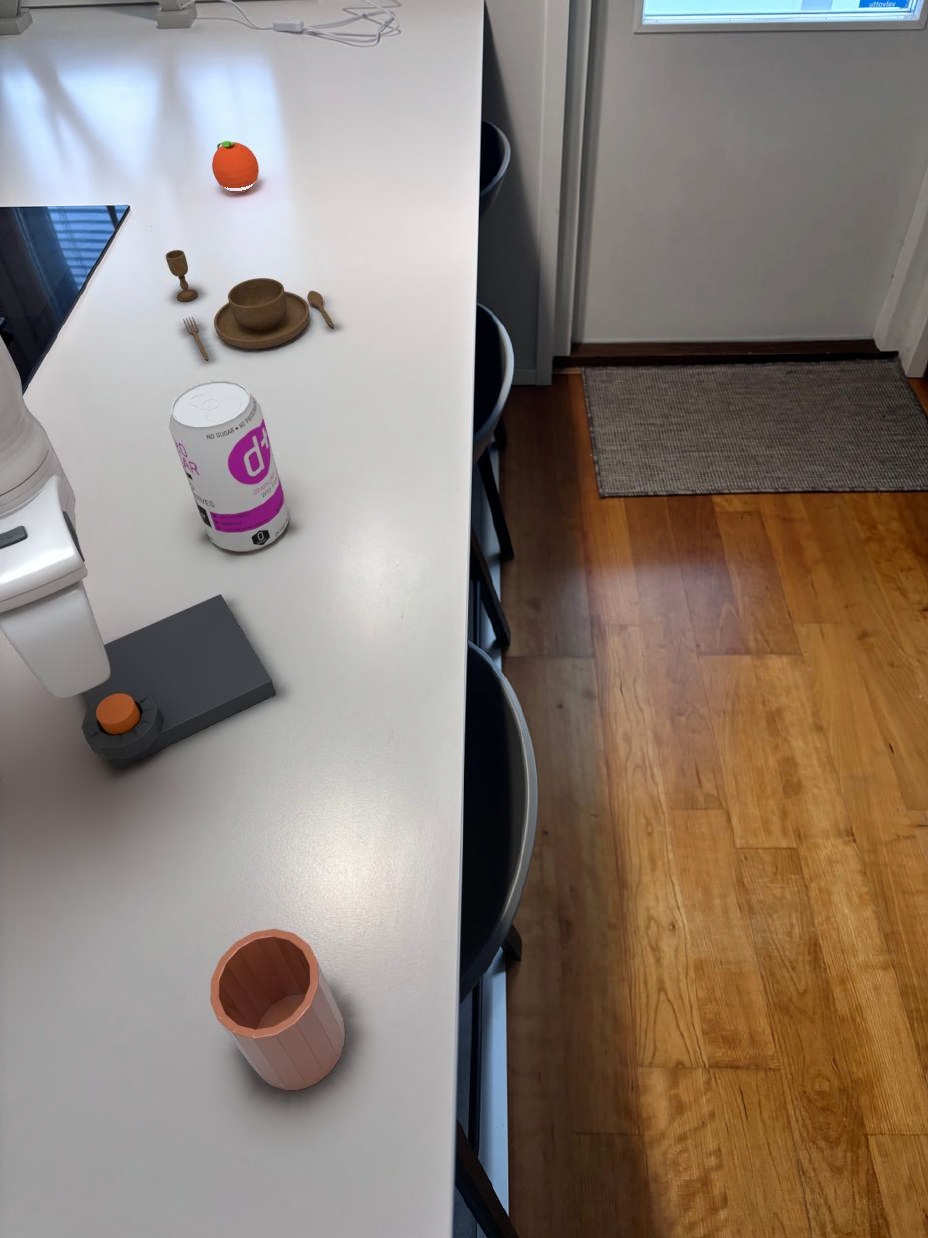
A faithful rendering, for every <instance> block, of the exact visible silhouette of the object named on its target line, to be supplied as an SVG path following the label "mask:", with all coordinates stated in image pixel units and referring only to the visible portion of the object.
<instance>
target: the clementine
mask: <svg viewBox="0 0 928 1238" xmlns="http://www.w3.org/2000/svg"><path fill="white" fill-rule="evenodd" d="M216 145H217V146H216V151H215V152H214V154H213V157H212V162H211V168H212V173H213V175H214V178H215V181H216V182H217V183H218V184H219V185H220V186H221V187H222V186H223V187H226V188H227V187H228V188H241V187H246V186H249V185H251V184H253V183H254V182H255V181H256V182H257V180H258V178H259V172H260V168H259V167H260V166H259V162H258V160H257V157H256V156H255V153H254V152H253V151H252V150H251V149H250V148H249V147H248V146H247V145H245V144H242V143H240V142H236V141H229V140H226V141H225V140H224V141H222V142H220V143H218V144H216ZM256 182H255V183H256ZM223 187H222V188H223ZM250 189H252V187H250V188H249V189H246V190H242V191H229V190H227V191H228V192H231V193H235V194H236V193H243V192H247V191H249V190H250Z"/></svg>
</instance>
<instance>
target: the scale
mask: <svg viewBox="0 0 928 1238" xmlns="http://www.w3.org/2000/svg"><path fill="white" fill-rule="evenodd" d="M104 647H105V650H106V653H107V656H108V660H109V664H110V669H111V674H110V677H109V679H108V680H107V681H105V682H103V683H102V684H100V685H98V686H96V687H93V688H91V689H89V690H87V691H85V692H83V695H84V697H85V700H86V702H87V705H88V707H89V708H88V709H87V710H86V711H85V715H84V718H83V720H82V724H81V730H82V732H83V733H82V734H84V737H85V740H86V743H88V746H89V747H90V748H91V750H92V752H93V753H94V754H97V755H99V756H100V757H103V758H105V759H107V760H111V762H112V764H113V765H114V767H115V768H116V770H120V769H122V768H125V767H127V766H129V765H131V764H133V763H135V762H138V761H139V760H141V759H143V758H146V757H148V756H150V755H152V754H154V753H156V752H158V751H160V750H162V749H164V748H166V747H169V746H170V745H173V744H175V743H177V742H179V741H181V740H183V739H185V738H187V737H190V736H191V735H193V734H196V733H198V732H199V731H202V730H204V729H206V728H208V727H211V726H212V725H215V724H217V723H219V722H221V721H222V720H225V719H227V718H229V717H231V716H233V715H236V714H237V713H239V712H242V711H244V710H246V709H248V708H250V707H252V706H254V705H256V704H258V703H260V702H262V701H265V700H266V699H269V698H271V697H273V696H275V695H277V691H276V688H275V686H274V682H273V680H272V678H271V677H270V675H269V673H268V671H267V670H266V668H265V667H264V665H263V663H262V662H261V660H260V658H259V656H258V655H257V653H256V651H255V650H254V648H253V646H252V645H251V642H250V641H249V639H248V637H247V636H246V634H245V632H244V631H243V629H242V627H241V625H240V624H239V622H238V621H237V618H236V617H235V616H234V614H233V612H232V610H231V608H230V607H229V605H228V604H227V601H226V600H225V598H224V597H223V594H221V593H220V594H217V595H215V596H212V597H210V598H208V599H206V600H203V601H201V602H199V603H196V604H194V605H192V606H189V607H186V608H185V609H183V610H181V611H178V612H176V613H174V614H171V615H169V616H167V617H165V618H162V619H160V620H158V621H155V622H153V623H150V624H149V625H146V626H144V627H141V628H139V629H137V630H135V631H132V632H130V633H128V634H125V635H123V636H121V637H119V638H116V639H114V640H111V641H109V642H107V643H105V644H104ZM119 693H120V694H126V695H129V696H130V697H131V698H132V699H133V700H134V702H135V704H136V706H137V708H138V710H139V712H140V718H139V721H138V723H137V724H136V726H135V727H134V728H133V729H131V730H130V731H128V732H126V733H123V734H119V735H114V734H110V733H108V732H106V731H105V730H104V729H103V727H102V725H101V724H100V722H99V720H98V719H97V716H96V710H97V707H98V705H99V704H100V703H101V702H102V701H103V700H104V699H105V698H107V697H108V696H111V695H114V694H119Z"/></svg>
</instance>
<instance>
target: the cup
mask: <svg viewBox="0 0 928 1238" xmlns="http://www.w3.org/2000/svg"><path fill="white" fill-rule="evenodd" d="M209 997H210V998H209V1001H210V1004H211V1007H212V1009H213V1010H212V1011H213V1012H214V1014H215V1017H216V1020H217V1021H218V1022H219V1024H220V1025H221V1026H222V1028H223V1030H224V1031H225V1032H226V1033H227V1035H228V1036H229V1037H230V1039H231V1040H232V1042H233V1043H234V1044H235V1045H236V1047H237V1048H238V1050H239V1051H240V1053H241V1054H242V1055H243V1057H244V1058H245V1060H247V1063H249V1065H250V1066H251V1068H252V1069H253V1070H254V1072H256V1073H257V1074H258V1075H259V1077H260V1078H261V1079H262V1080H263V1081H264V1082H266V1083H267V1084H268V1085H270V1086H272V1087H274V1088H277V1089H279V1090H285V1091H299V1090H303V1089H307V1088H309V1087H312V1086H313V1085H315V1084H317V1083H319V1082H321V1081H322V1080H323V1079H324V1078H326V1077H327V1076H328V1075H329V1073H331V1071H332V1070H333V1069H334V1068H335V1066H336V1065H337V1063H338V1061H339V1060H340V1058H341V1055H342V1053H343V1049H344V1046H345V1040H346V1027H345V1022H344V1018H343V1014H342V1013H341V1011H340V1008H339V1006H338V1004H337V1001H336V999H335V997H334V995H333V993H332V990H331V988H330V986H329V983H328V982H327V979H326V978H325V975H324V972H323V970H322V968H321V966H320V964H319V961H318V959H317V957H316V956H315V953H314V951H313V949H312V947H311V945H309V943H307V942H306V941H305V940H304V939H303V938H301V937H300V936H299V935H297V934H296V933H294V932H291V931H287V930H282V929H279V928H271V929H264V930H258V931H257V930H256V931H254V932H251V933H249V934H248V935H246V936H245V937H243V938H241V939H239V940H237V941H235V942H234V943H233V944H232V945H231V946H230V947H229V949H228V950H227V951H226V952H225V953H224V954H223V955H222V956H221V957H220V959H219V960H218V963H217V965H216V967H215V969H214V973H213V975H212V976H211V980H210V996H209Z"/></svg>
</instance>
